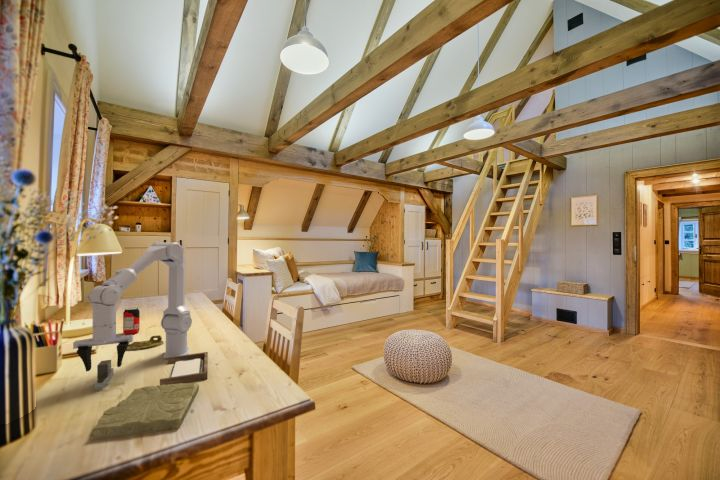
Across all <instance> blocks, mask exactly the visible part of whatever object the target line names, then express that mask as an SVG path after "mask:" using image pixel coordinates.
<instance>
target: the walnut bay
mask: <svg viewBox="0 0 720 480" xmlns="http://www.w3.org/2000/svg"><path fill="white" fill-rule="evenodd" d="M208 354H209V352H208V351H204V352H197V353H191V354H190V353H188V355H181V356H173V357H168V358H167V364H168V365H169V364H174V363H175V362H177V361H183V360H190V359H197V358H200V359H203V360H204V365H203V367H204V368H203V371H202V372H201V373H195V374H189V375H182V376H176V377H163V378H160V379H159V385H167V384H179V383H193V382H196V381H197V382H198V381H203V380H208V369H209V368H208V364H209V361H208V360H209V359H208V358H209V357H208V356H209V355H208Z"/></svg>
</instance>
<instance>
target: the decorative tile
mask: <svg viewBox="0 0 720 480" xmlns="http://www.w3.org/2000/svg"><path fill="white" fill-rule="evenodd" d="M199 388H200V385H199V384H198V383H197V382H186V383H179V384H167V385H160V384H159V385H150V386H149V385H148V386H143V387H138V388H133V390H132V392H131V393H130V394H129V395H127V396H126V398H125V399H123V400H121V401H119V402H118V403H117V404H116V405H115V406H111V407H109V408H108V409H106V410H104V411H103V414H102V415H101V416H100V418H99V419H98V420H97V424H96V425H95V426H94V427H93V428H92V433H91V439H90V441H95V440H96V441H97V440H102V439H113V438H119V437H128V436H134V435H142V434H150V433H157V432H164V431H172V430H179V429H180V428H181V426H182V424H183V422H184V420H185V418H186V416H187V414H188V413H189V411H190V409H191V406H192V405H193V402H194V401H195V399H196V396H197V394H198V393H199V390H200V389H199Z"/></svg>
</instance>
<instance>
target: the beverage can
mask: <svg viewBox="0 0 720 480" xmlns="http://www.w3.org/2000/svg"><path fill="white" fill-rule="evenodd" d="M140 315H141V314H140V310H139V307H136V306H135V307H126V308H124V311H123V313H122V321H123V322H122V330H123V331H122V333H123V334H124V335H136V334H138V333H139V332H140V324H141V323H140V321H141V320H140Z"/></svg>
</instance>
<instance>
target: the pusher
mask: <svg viewBox="0 0 720 480" xmlns="http://www.w3.org/2000/svg"><path fill="white" fill-rule="evenodd" d="M96 366H97V367H96V368H97V370H96V371H97V373H96V375H97V377H96V378H97V379H96V381H95V382H94V383H93V392H94V393H95V392H102V391H103V390H104V389H105V388H106V387H107V385H108V383H109V382H110V381H111V380H112V377H113V376H114V375H115V374H114V372H115V371H114V367H112V359H107V360H101V361H100V362H99V363H98V364H97V365H96Z"/></svg>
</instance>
